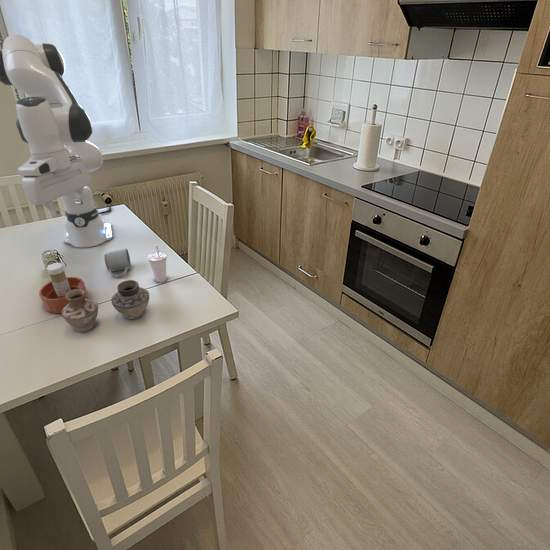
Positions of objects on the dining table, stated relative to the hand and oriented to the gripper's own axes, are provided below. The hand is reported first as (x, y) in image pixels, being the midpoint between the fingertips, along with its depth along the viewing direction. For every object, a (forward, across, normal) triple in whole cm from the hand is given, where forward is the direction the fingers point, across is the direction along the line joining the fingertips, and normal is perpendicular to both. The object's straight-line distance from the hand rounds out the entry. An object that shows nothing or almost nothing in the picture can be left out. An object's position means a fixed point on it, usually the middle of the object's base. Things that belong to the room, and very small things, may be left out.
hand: (68, 209), depth 115 cm
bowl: (+31, +4, -10) cm, 33 cm away
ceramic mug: (+31, -18, -6) cm, 36 cm away
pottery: (+33, +7, +10) cm, 35 cm away
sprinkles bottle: (+31, +4, -10) cm, 33 cm away
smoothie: (+33, -18, +12) cm, 39 cm away
